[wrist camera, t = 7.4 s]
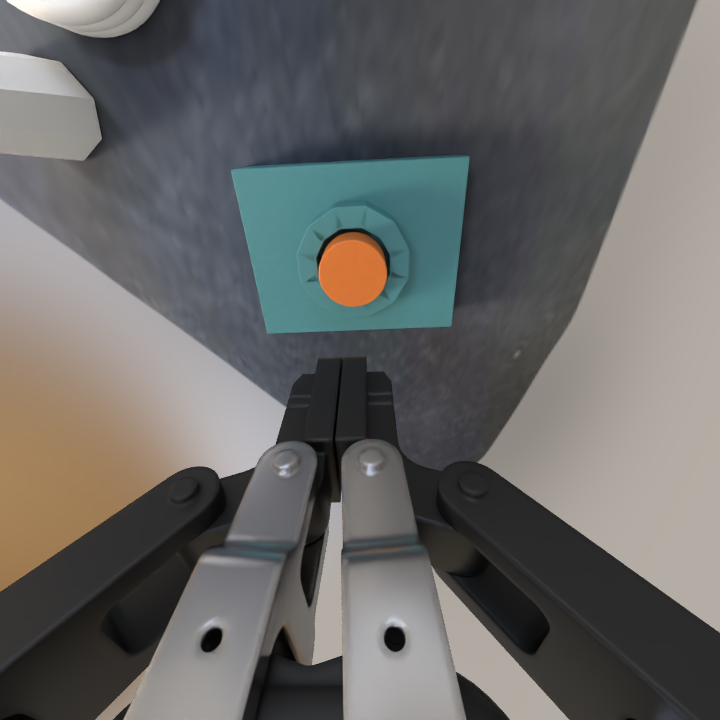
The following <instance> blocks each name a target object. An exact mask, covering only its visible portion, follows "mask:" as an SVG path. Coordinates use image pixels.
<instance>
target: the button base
mask: <svg viewBox="0 0 720 720" xmlns="http://www.w3.org/2000/svg"><path fill="white" fill-rule="evenodd" d="M469 160H470V156H464V155H441V156H423V157H405V158H387V159H369V160H352V161H334V162H316V163H298V164H280V165H262V166H246V167H241V168H236V169H232V170H231V172H232V176H233V181H234V185H235V190H236V194H237V199H238V204H239V208H240V213H241V217H242V222H243V226H244V231H245V235H246V240H247V244H248V249H249V253H250V258H251V262H252V267H253V271H254V276H255V280H256V285H257V289H258V294H259V298H260V303H261V307H262V312H263V316H264V321H265V325H266V330H267V333H294V332H320V331H346V330H372V329H398V328H424V327H450V326H452V316H453V307H454V298H455V289H456V279H457V270H458V261H459V252H460V243H461V233H462V224H463V215H464V206H465V196H466V187H467V178H468V169H469ZM347 232H359V233H363V234H366V235H368V236H370V237H371V238H373V239H374V240H375V241H376V242H377V243H378V244H379V246H380V247H381V249H382V251H383V253H384V256H385V261H386V267H387V280H386V284H385V287H384V289H383V291H382V292H381V294H380V295H379V296H378V297H377V298H376V299H375V300H373V301H372V302H370V303H368V304H366V305H363V306H358V307H349V306H344V305H341V304H338V303H337V302H335V301H333V300H332V299H331V298H330V297H329V296H328V295H327V294H326V293H325V292H324V290H323V288H322V286H321V284H320V281H319V273H318V272H319V265H320V261H321V259H322V256H323V253H324V251H325V249H326V247H327V245H328V244H329V243H330V242H331V241H332V240H333V239H334V238H335V237H337V236H339V235H341V234H344V233H347Z"/></svg>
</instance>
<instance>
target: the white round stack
mask: <svg viewBox="0 0 720 720" xmlns="http://www.w3.org/2000/svg"><path fill="white" fill-rule="evenodd" d="M6 1H7V2H9V3H11V4H12V5H14V6H15V7H17V8H18V9H20V10H22V11H24V12H26V13H28V14H29V15H31V16H33V17H36V18H38V19H41V20H44V21H47V22H50V23H52V24H54V25H57V26H60V27H62V28H65V29H67V30H70V31H73V32H75V33H78V34H81V35H86V36H90V37H99V38H108V37H116V36H120V35H123V34H127V33H129V32H131V31H133V30H135V29H137V28H138V27H139V26H141V25H142V24H143V23H144V22H145V21H146V20H147V19H148V18H149V17H150V16H151V14H152V13H153V12H154V10H155V8H156V7H157V5H158V3H159V2H160V0H6Z"/></svg>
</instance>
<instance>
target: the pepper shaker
mask: <svg viewBox="0 0 720 720" xmlns="http://www.w3.org/2000/svg"><path fill="white" fill-rule="evenodd" d="M101 140H102V136H101V131H100V126H99V122H98V117H97V112H96V107H95V102H94V98H93V97H92V96H91V95H90V94H89V93H88V92H87V91H86V89H85V88H84V87H83V86H82V85H81V84H80V83H79V82H78V81H77V79H76V78H75V77H74V76H73V75H72V74H71V73H70V72H69V71H68V69H67V68H66V67H65V66H64V65H63V64H62V63H61V62H59V61H54V60H49V59H44V58H39V57H34V56H29V55H25V54H18V53H9V52H0V153H4V154H15V155H26V156H37V157H47V158H58V159H69V160H80V161H84V160H85V159H86V158H87V156H88V155H89V154H90V153H91V152H92V150H93V149H94V148H95V147H96V146H97V144H98V143H99V142H100V141H101Z"/></svg>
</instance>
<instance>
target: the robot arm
mask: <svg viewBox="0 0 720 720" xmlns="http://www.w3.org/2000/svg"><path fill="white" fill-rule="evenodd" d="M341 490H342V520H343V549H342V553H341V586H342V587H341V588H342V646H343V647H342V650H343V655H342V656H340V657H337V658H334V659H331V660H328V661H325V662H322V663H319V664H316V665H312V659H313V650H314V640H315V613H316V605H317V599H318V593H319V587H320V581H321V575H322V570H323V564H324V558H325V552H326V546H327V540H328V534H329V526H328V523H329V517H330V506H331V502H340V501H341ZM431 566H433V568H434V570H435V572H436V573H437V574H438V576H439V577H440V578H441V579H442V580H443V581H444V582H445V584H446V585H447V586H448V587H449V588H450V589H451V590H452V591H453V592H454V593H455V595H456V596H457V597H458V598H459V599H460V600H461V601H462V602H463V603H464V604H465V605H466V607H468V609H469V610H470V611H471V612H472V613H473V614H474V615H475V617H476V618H477V619H478V620H479V621H480V622H481V623H482V624H483V625H484V626H485V628H486V629H487V630H488V631H489V632H490V633H491V634H492V635H493V636H494V637H495V638H496V640H497V641H498V642H499V643H500V644H501V645H502V646H503V647H504V648H505V649H506V651H507V652H508V653H509V654H510V655H511V656H512V657H513V658H514V659H515V660H516V662H518V664H519V665H520V666H521V667H522V668H523V669H524V670H525V671H526V672H527V674H528V675H529V676H530V677H531V678H532V679H533V680H534V681H535V682H536V683H537V684H538V686H539V687H540V688H541V689H542V690H543V691H544V692H545V693H546V694H547V696H549V698H550V699H551V700H552V701H553V702H554V703H555V704H556V705H557V706H558V708H559V709H560V710H561V711H562V712H563V713H564V714H565V715H566V716H567V718H568V719H570V720H720V633H719V632H718V631H716V630H715V629H714V628H712V627H711V626H709V625H708V624H706V623H705V622H704V621H702V620H701V619H700V618H698V617H697V616H695V615H694V614H693V613H691V612H690V611H688V610H687V609H686V608H684V607H683V606H681V605H680V604H679V603H677V602H676V601H674V600H673V599H672V598H670V597H669V596H667V595H666V594H665V593H663V592H662V591H660V590H659V589H658V588H656V587H655V586H654V585H652V584H651V583H649V582H648V581H646V580H645V579H644V578H642V577H641V576H639V575H638V574H637V573H635V572H634V571H633V570H631V569H630V568H628V567H627V566H625V565H624V564H623V563H621V562H620V561H619V560H617V559H616V558H614V557H613V556H612V555H610V554H609V553H607V552H606V551H605V550H603V549H602V548H601V547H599V546H598V545H596V544H595V543H594V542H592V541H591V540H589V539H588V538H586V537H585V536H584V535H582V534H581V533H580V532H578V531H577V530H575V529H574V528H572V527H571V526H570V525H568V524H567V523H565V522H564V521H563V520H561V519H560V518H559V517H557V516H556V515H554V514H553V513H551V512H550V511H549V510H547V509H546V508H544V507H543V506H542V505H541V504H539V503H538V502H536V501H535V500H534V499H532V498H531V497H529V496H528V495H526V494H525V493H523V492H522V491H521V490H520V489H518V488H517V487H515V486H514V485H513V484H511V483H510V482H508V481H507V480H506V479H504V478H503V477H501V476H500V475H499V474H497V473H496V472H494V471H493V470H492V469H490V468H488V467H486V466H484V465H482V464H479V463H476V462H471V461H460V462H455V463H452V464H450V465H448V466H447V467H446V468H445V469H444V470H443V471H438V470H434V469H430V468H426V467H423V466H420V465H418V464H416V463H414V462H412V461H411V460H409V459H408V458H407V457H406V456H405V455H404V454H403V453H402V451H401V450H400V447H399V444H398V438H397V429H396V420H395V411H394V402H393V395H392V384H391V380H390V379H389V378H388V377H387V375H386V374H385V373H384V372H367V361H366V356H364V357H344V358H343V360H342V357H338V358H319V359H318V364H317V368H316V373H315V374H303V375H302V376H301V377H300V378H299V379H298V380H297V381H296V382H295V383H294V384H293V387H292V390H291V394H290V398H289V401H288V404H287V408H286V411H285V414H284V418H283V421H282V424H281V428H280V431H279V435H278V438H277V442H276V445H275V446H273V447H271V448H270V449H268V450H267V451H266V452H265V453H264V454H263V455H262V456H261V458H260V459H259V461H258V463H257V465H256V467H255V468H252V469H250V470H247V471H245V472H242V473H238V474H235V475H231V476H228V477H224V478H221V479H219V477H218V475H217V473H216V472H215V471H214V470H212V469H210V468H208V467H191V468H187V469H185V470H182V471H179V472H177V473H175V474H174V475H172V476H170V477H169V478H167V479H166V480H164V481H163V482H161V483H160V484H159V485H157V486H156V487H154V488H153V489H151V490H150V491H148V492H147V493H145V494H144V495H142V496H141V497H139V498H138V499H136V500H135V501H134V502H132V503H131V504H129V505H128V506H126V507H125V508H123V509H122V510H120V511H119V512H118V513H116V514H114V515H113V516H111V517H110V518H109V519H107V520H106V521H104V522H103V523H101V524H100V525H98V526H97V527H95V528H94V529H92V530H91V531H89V532H88V533H86V534H85V535H83V536H82V537H81V538H79V539H78V540H76V541H75V542H73V543H72V544H70V545H69V546H67V547H66V548H64V549H63V550H61V551H60V552H58V553H57V554H55V555H54V556H53V557H51V558H50V559H48V560H47V561H45V562H44V563H42V564H41V565H40V566H38V567H36V568H35V569H33V570H32V571H30V572H29V573H28V574H26V575H25V576H23V577H22V578H20V579H19V580H17V581H16V582H14V583H13V584H11V585H10V586H8V587H7V588H5V589H4V590H3V591H1V592H0V720H95V719H96V718H97V717H98V716H99V715H100V714H101V713H102V712H103V711H104V710H105V709H106V708H107V707H108V706H109V705H110V704H111V703H112V702H113V701H114V700H115V699H116V698H117V697H118V696H119V695H120V694H121V693H122V692H123V691H124V690H125V689H126V688H127V687H128V686H129V685H130V684H131V683H132V682H133V681H134V680H135V679H136V678H137V677H138V676H139V675H140V674H141V673H142V672H143V671H144V670H145V669H146V668H147V667H148V669H147V671H146V673H145V675H144V677H143V679H142V681H141V683H140V685H139V688H138V690H137V692H136V694H135V696H134V698H133V701H132V702H131V703H130V704H129V705H128V706H127V707H126V708H124V709H123V710H122V711H121V712H120V713H119V714H118V715H117V716H116V717H115V718H114V719H113V720H510V719H509V718H508V717H507V716H506V714H505V713H504V712H503V711H502V710H501V709H500V708H499V707H498V706H497V705H496V703H495V702H493V700H492V699H491V698H490V697H489V696H488V695H486V694H485V693H484V692H483V691H482V690H481V689H480V688H478V687H477V686H476V685H475V684H474V683H472V682H471V681H469V680H468V679H466V678H465V677H463V676H462V675H461V674H459V673H457V672H455V668H454V663H453V659H452V654H451V650H450V646H449V642H448V637H447V633H446V629H445V624H444V620H443V615H442V611H441V607H440V602H439V598H438V593H437V589H436V585H435V580H434V576H433V572H432V567H431ZM153 572H154V573H153Z"/></svg>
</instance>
